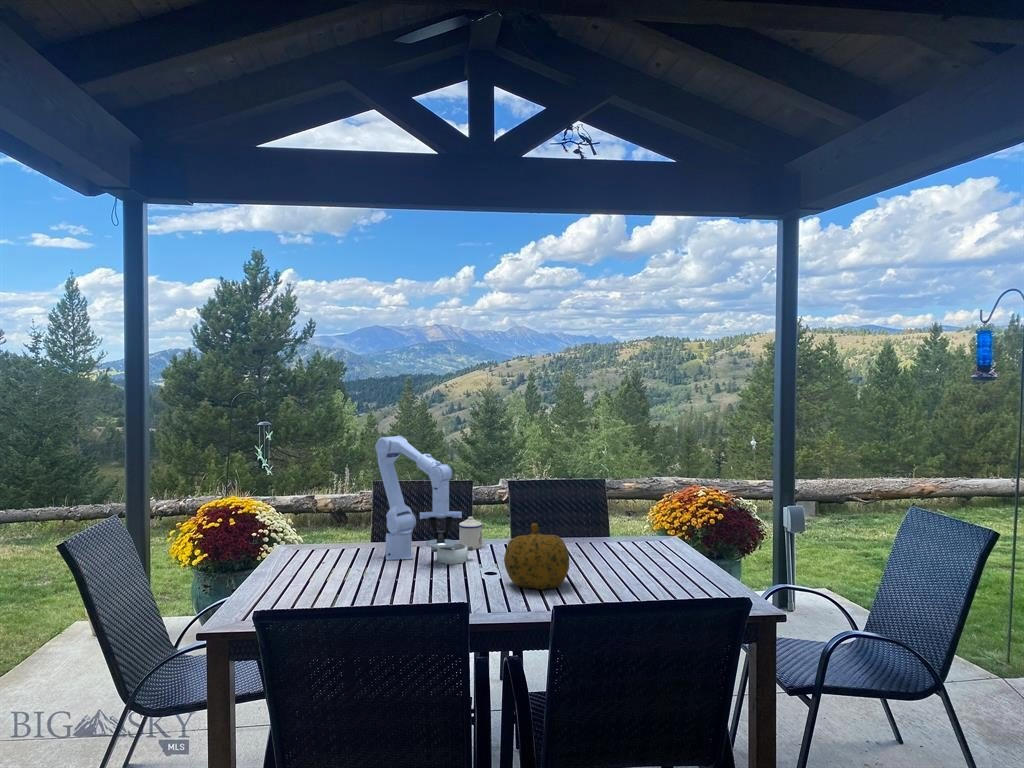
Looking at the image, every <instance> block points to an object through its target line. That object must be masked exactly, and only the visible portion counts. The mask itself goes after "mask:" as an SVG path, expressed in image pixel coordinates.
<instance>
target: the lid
mask: <svg viewBox="0 0 1024 768" xmlns="http://www.w3.org/2000/svg"><path fill="white" fill-rule="evenodd" d="M436 533H437V540H435V539H430V540H427V541H426V543H425V546H426V547H429V548H444V547H451V546H454V545H455V544H456V541H455V540H453V539H448V538H447V539H445V530H438V531H437V530H436Z"/></svg>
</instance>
